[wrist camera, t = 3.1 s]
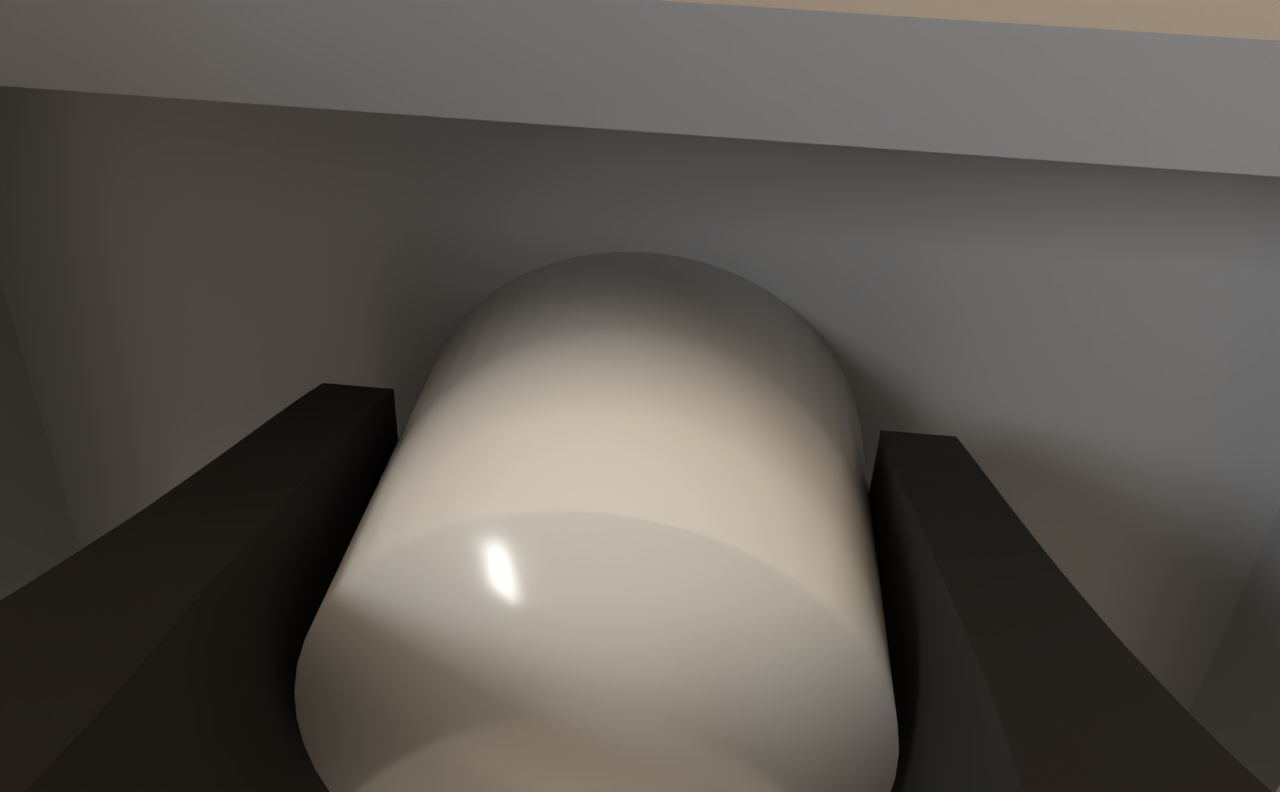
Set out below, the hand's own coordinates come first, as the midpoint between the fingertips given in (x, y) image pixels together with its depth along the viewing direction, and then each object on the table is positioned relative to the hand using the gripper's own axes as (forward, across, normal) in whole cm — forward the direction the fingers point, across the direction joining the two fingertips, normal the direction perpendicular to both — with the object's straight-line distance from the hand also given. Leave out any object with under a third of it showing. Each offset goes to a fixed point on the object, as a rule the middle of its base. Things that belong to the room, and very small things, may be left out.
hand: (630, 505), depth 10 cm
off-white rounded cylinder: (+1, 0, 0) cm, 1 cm away
